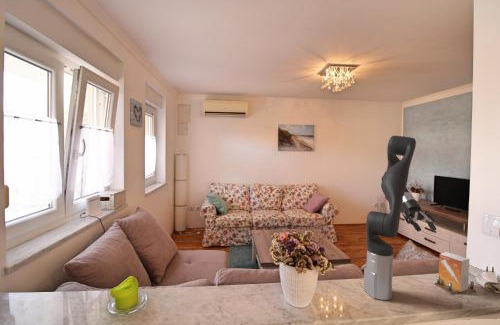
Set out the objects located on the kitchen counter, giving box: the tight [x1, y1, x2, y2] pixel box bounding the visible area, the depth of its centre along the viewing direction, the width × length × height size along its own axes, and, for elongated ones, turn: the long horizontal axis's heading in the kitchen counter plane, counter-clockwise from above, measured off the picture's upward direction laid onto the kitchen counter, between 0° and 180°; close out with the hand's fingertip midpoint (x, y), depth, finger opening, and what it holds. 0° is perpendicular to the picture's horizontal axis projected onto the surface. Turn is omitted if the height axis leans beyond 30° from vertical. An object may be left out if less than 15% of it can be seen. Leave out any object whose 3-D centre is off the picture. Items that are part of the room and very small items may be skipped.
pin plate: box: [434, 276, 477, 295], centre depth 99 cm, size 12×7×4 cm, turn 99°
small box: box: [438, 251, 470, 292], centre depth 99 cm, size 8×6×13 cm
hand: (427, 230), depth 111 cm, fingers open, 8 cm apart
